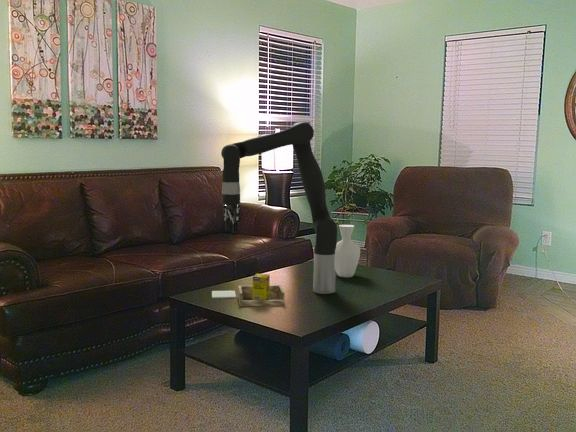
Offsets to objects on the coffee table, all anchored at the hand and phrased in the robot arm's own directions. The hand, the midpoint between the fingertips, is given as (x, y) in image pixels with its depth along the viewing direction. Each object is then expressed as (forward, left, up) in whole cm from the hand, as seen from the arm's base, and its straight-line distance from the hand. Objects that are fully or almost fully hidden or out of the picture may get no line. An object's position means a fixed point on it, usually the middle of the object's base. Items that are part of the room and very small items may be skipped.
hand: (231, 231), depth 239 cm
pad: (+3, -1, -28) cm, 28 cm away
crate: (-12, +10, -28) cm, 32 cm away
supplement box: (-12, +10, -28) cm, 32 cm away
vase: (-58, -34, -28) cm, 72 cm away
